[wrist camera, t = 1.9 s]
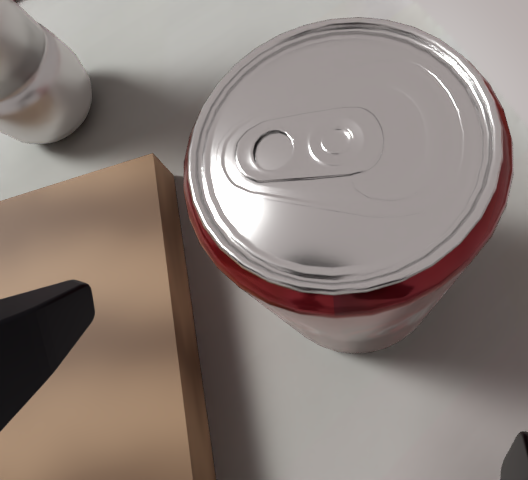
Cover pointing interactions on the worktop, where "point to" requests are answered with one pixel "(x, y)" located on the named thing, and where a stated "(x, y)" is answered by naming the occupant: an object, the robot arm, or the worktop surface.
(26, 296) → the robot arm
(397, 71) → the soda can
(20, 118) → the plastic bottle
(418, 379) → the worktop surface
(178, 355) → the walnut base board
